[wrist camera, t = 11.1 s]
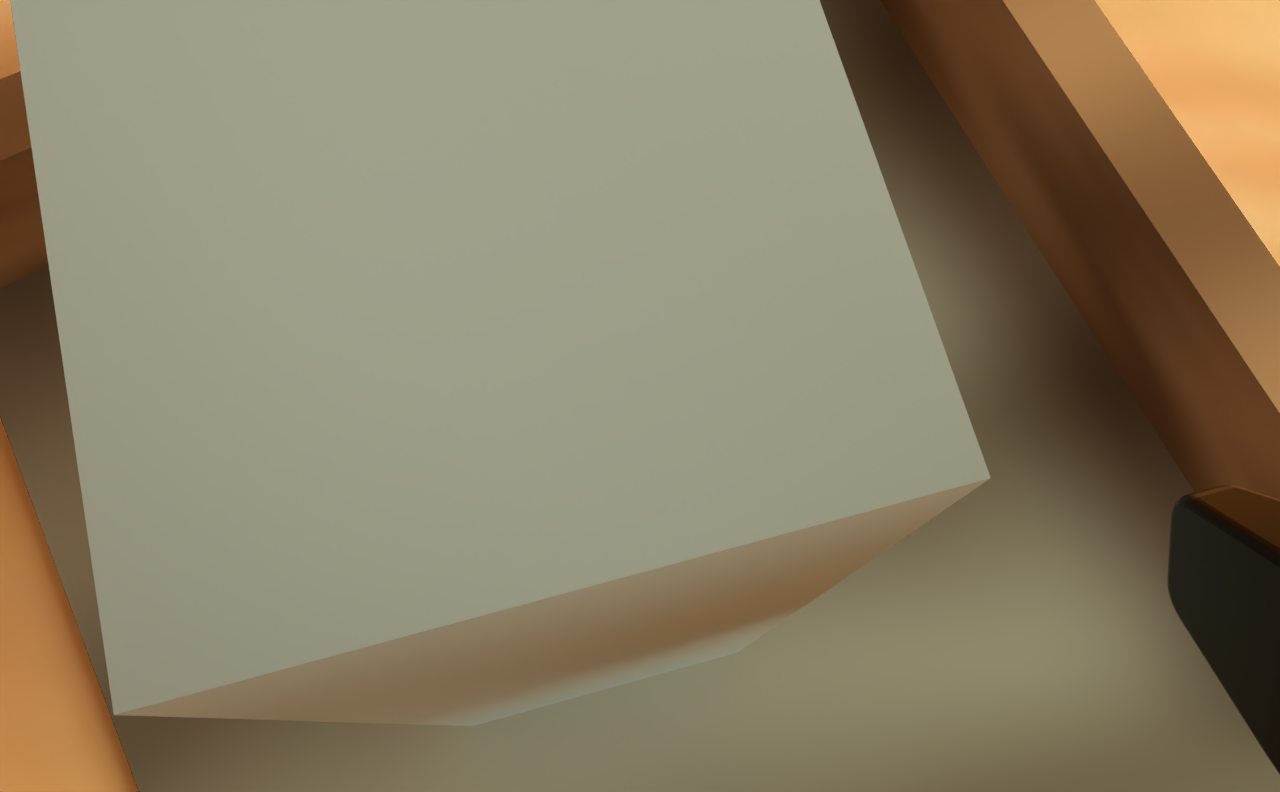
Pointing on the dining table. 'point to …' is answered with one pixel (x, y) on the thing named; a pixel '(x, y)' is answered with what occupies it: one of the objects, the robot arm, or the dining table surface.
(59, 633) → the dining table surface
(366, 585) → the slate block
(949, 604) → the tray
